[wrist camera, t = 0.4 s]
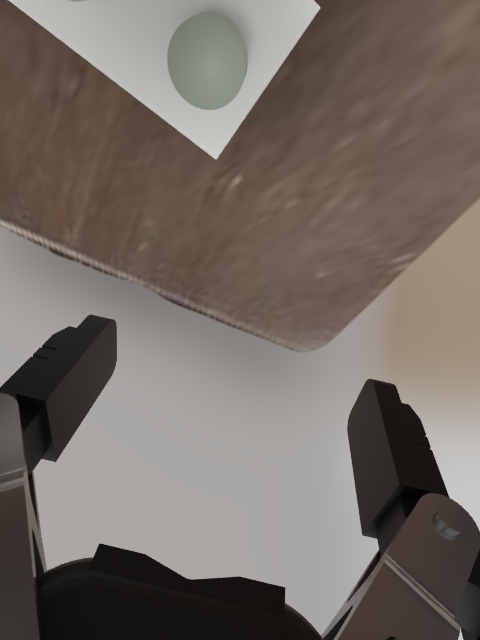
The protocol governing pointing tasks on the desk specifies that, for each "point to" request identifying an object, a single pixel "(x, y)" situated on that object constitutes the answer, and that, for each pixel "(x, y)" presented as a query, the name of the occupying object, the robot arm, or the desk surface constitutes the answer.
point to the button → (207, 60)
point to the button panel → (152, 48)
